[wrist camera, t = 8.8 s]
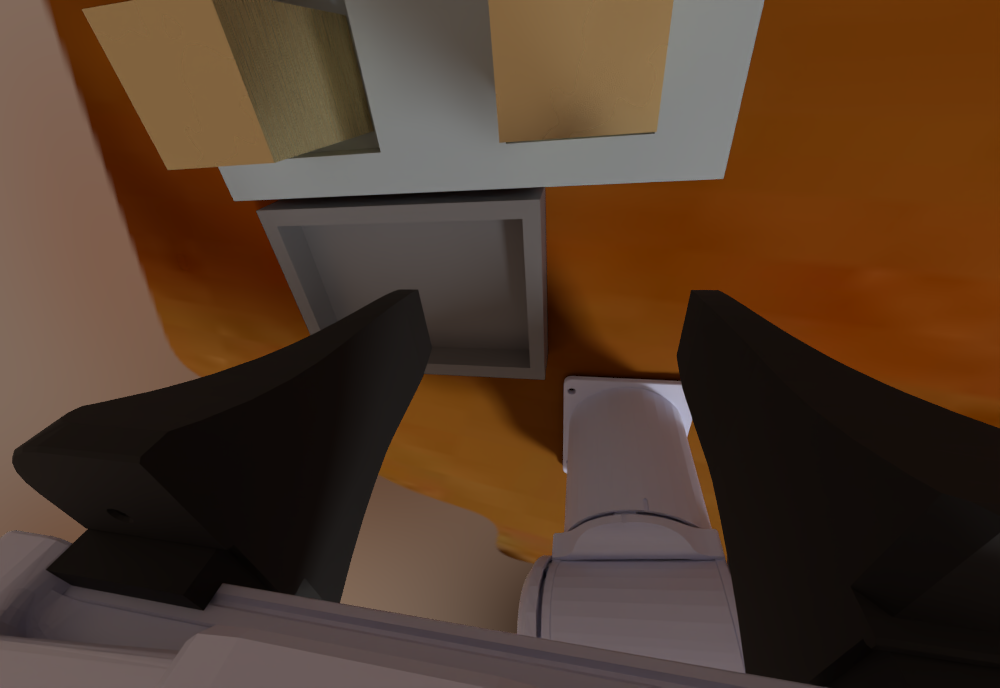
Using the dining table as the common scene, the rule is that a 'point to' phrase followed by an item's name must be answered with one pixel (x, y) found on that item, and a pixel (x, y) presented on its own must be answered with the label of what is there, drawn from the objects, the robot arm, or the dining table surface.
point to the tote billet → (234, 77)
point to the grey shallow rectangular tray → (427, 269)
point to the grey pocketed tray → (473, 112)
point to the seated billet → (578, 66)
